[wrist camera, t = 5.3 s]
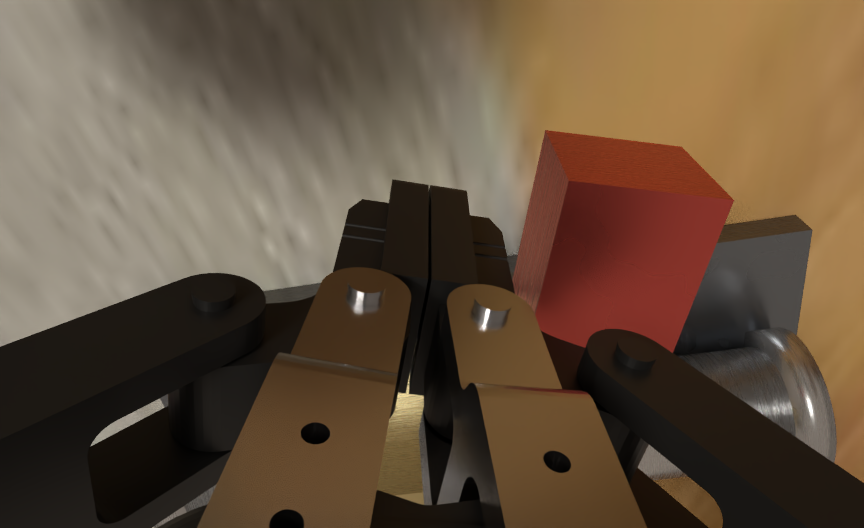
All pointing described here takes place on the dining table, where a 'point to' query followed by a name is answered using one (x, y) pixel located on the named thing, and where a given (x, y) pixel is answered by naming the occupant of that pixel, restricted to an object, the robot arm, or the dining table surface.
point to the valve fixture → (687, 350)
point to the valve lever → (616, 237)
